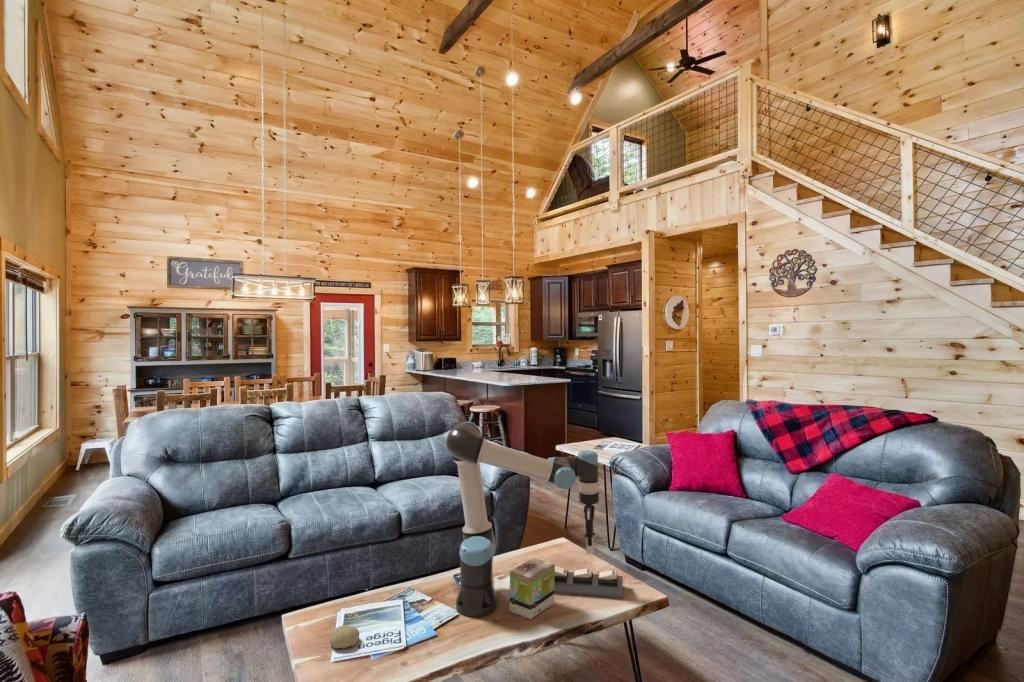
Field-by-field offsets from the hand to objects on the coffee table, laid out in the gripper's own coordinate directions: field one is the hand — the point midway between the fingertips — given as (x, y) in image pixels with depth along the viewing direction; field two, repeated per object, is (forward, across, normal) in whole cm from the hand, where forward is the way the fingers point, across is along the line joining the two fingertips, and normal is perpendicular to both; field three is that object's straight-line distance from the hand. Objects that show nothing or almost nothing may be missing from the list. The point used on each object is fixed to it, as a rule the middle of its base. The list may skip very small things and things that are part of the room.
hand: (590, 552), depth 209 cm
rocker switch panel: (+14, 0, +3) cm, 15 cm away
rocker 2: (+8, 0, +3) cm, 9 cm away
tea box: (+14, -17, +20) cm, 30 cm away
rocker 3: (+8, 0, -7) cm, 11 cm away
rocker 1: (+8, 0, +12) cm, 15 cm away
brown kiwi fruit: (+14, -50, +76) cm, 92 cm away
